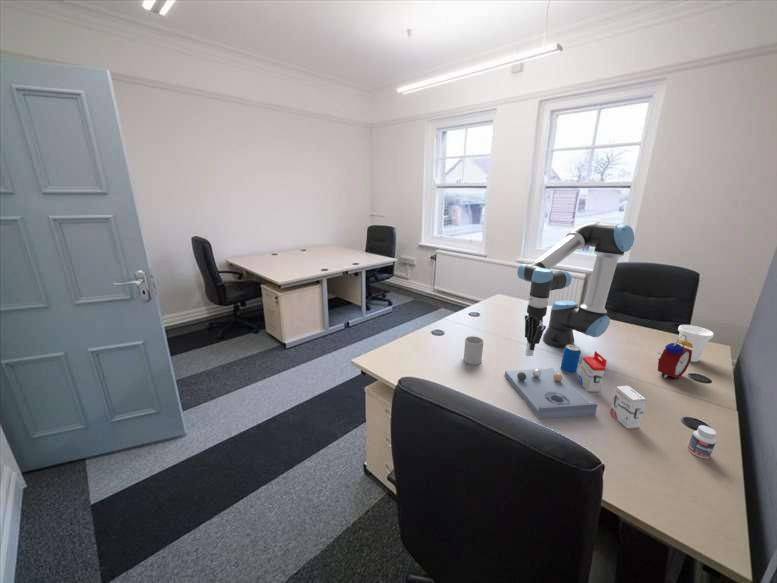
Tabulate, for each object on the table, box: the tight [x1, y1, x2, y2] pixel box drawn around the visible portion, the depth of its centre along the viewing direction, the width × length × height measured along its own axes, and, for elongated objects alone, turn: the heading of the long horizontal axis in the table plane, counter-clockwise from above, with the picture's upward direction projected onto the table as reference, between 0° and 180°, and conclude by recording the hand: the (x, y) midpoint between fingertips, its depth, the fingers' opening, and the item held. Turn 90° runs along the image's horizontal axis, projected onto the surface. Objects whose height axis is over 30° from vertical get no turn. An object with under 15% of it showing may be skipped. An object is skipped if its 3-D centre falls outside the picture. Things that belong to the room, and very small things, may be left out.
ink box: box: [609, 385, 647, 429], centre depth 114 cm, size 9×5×12 cm, turn 5°
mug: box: [463, 335, 484, 366], centre depth 156 cm, size 12×8×11 cm
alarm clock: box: [657, 335, 693, 379], centre depth 142 cm, size 15×9×20 cm, turn 117°
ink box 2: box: [577, 351, 608, 393], centre depth 134 cm, size 8×5×15 cm, turn 178°
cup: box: [677, 324, 715, 363], centre depth 156 cm, size 12×12×15 cm
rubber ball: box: [517, 372, 526, 381], centre depth 135 cm, size 4×4×4 cm
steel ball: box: [532, 368, 541, 378], centre depth 137 cm, size 4×4×4 cm
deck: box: [504, 367, 598, 419], centre depth 130 cm, size 28×22×4 cm
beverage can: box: [560, 344, 582, 375], centre depth 145 cm, size 6×6×12 cm
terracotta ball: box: [553, 372, 564, 381], centre depth 135 cm, size 4×4×4 cm
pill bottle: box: [687, 424, 717, 459], centre depth 101 cm, size 5×5×9 cm
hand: (529, 355), depth 142 cm, fingers closed
